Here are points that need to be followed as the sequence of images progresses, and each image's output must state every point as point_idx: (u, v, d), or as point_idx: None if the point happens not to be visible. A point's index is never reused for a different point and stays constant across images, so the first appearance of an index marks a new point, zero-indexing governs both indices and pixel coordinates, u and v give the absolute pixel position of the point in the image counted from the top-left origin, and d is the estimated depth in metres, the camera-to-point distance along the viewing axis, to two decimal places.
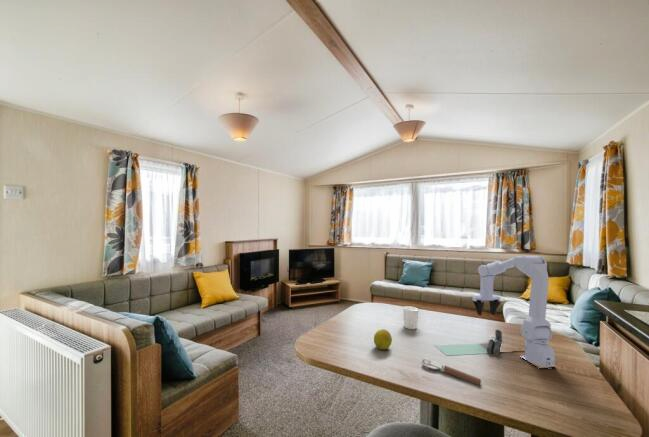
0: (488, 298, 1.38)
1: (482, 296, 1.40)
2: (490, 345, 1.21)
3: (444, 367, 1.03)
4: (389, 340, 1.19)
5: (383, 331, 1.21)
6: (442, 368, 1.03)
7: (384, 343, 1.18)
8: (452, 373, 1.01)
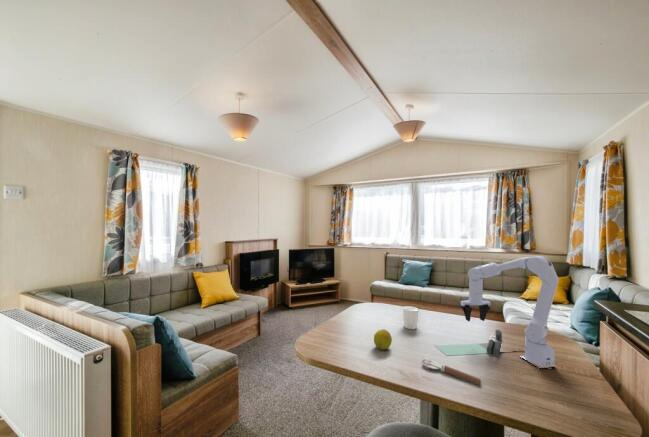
0: (477, 303, 1.28)
1: (471, 300, 1.30)
2: (490, 345, 1.21)
3: (444, 367, 1.03)
4: (389, 340, 1.19)
5: (383, 331, 1.21)
6: (442, 368, 1.03)
7: (384, 343, 1.18)
8: (452, 373, 1.01)
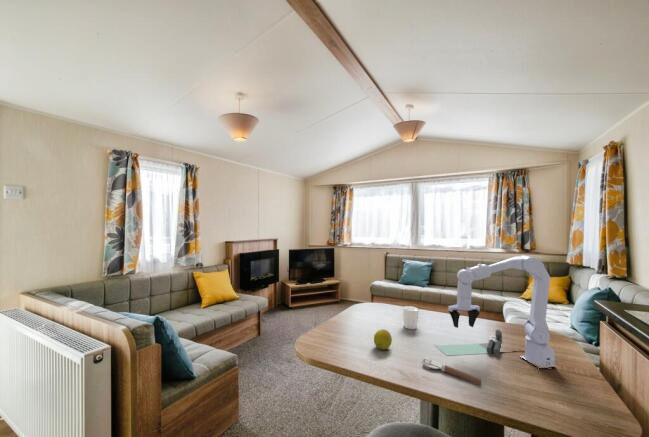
0: (465, 308, 1.20)
1: (459, 305, 1.22)
2: (490, 345, 1.21)
3: (444, 367, 1.03)
4: (389, 340, 1.19)
5: (383, 331, 1.21)
6: (442, 368, 1.03)
7: (384, 343, 1.18)
8: (452, 373, 1.01)
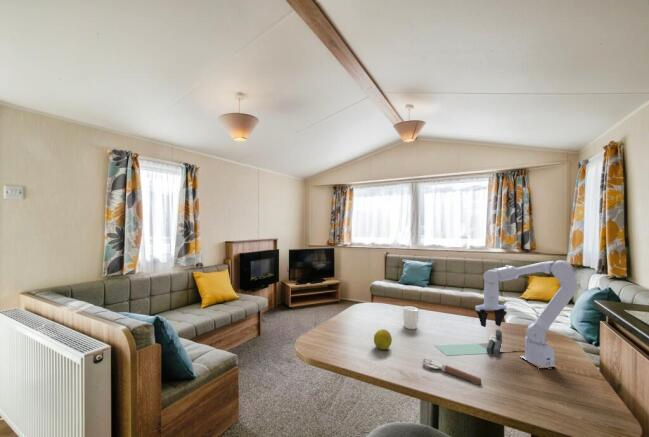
0: (493, 307, 1.22)
1: (486, 305, 1.24)
2: (490, 345, 1.21)
3: (445, 366, 1.03)
4: (389, 340, 1.19)
5: (383, 331, 1.21)
6: (443, 367, 1.04)
7: (384, 343, 1.18)
8: (453, 372, 1.01)
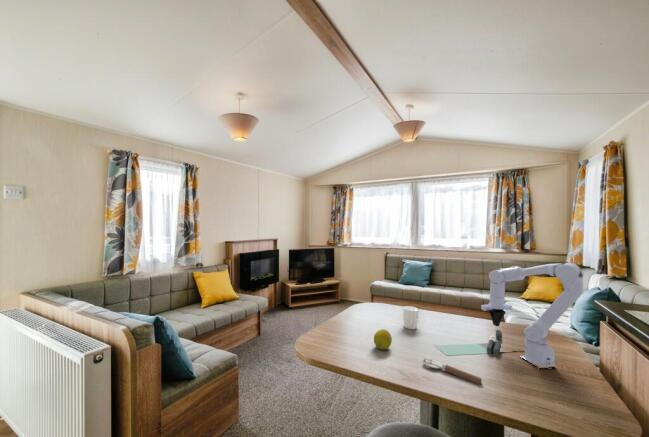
0: (499, 307, 1.22)
1: (492, 305, 1.24)
2: (490, 345, 1.21)
3: (445, 366, 1.04)
4: (389, 340, 1.19)
5: (383, 331, 1.21)
6: (443, 367, 1.04)
7: (384, 343, 1.18)
8: (453, 372, 1.02)
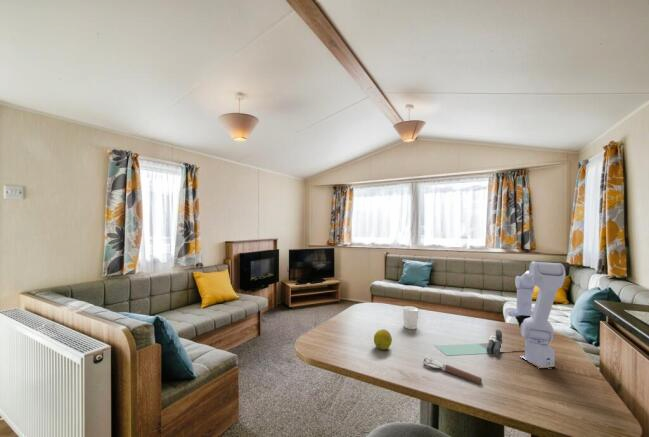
0: (526, 313, 1.25)
1: (519, 311, 1.26)
2: (490, 345, 1.21)
3: (445, 366, 1.04)
4: (389, 340, 1.19)
5: (383, 331, 1.21)
6: (443, 367, 1.04)
7: (384, 343, 1.18)
8: (453, 372, 1.02)
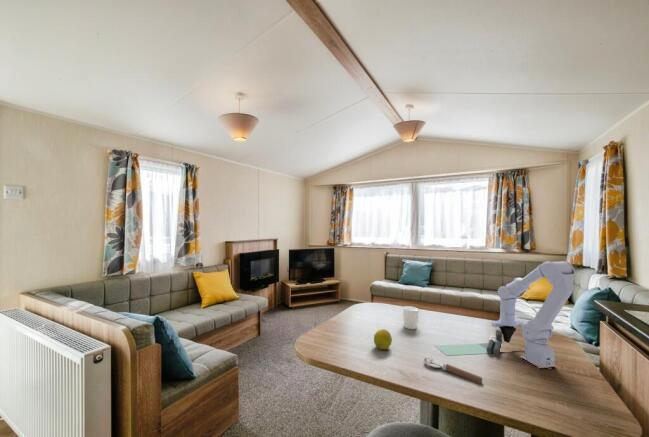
0: (509, 324, 1.23)
1: (502, 321, 1.25)
2: (490, 345, 1.21)
3: (446, 365, 1.04)
4: (389, 340, 1.19)
5: (383, 331, 1.21)
6: (444, 366, 1.04)
7: (384, 343, 1.18)
8: (454, 371, 1.02)
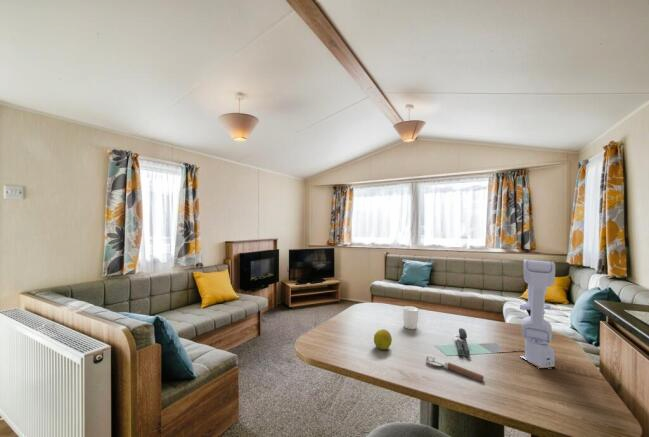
0: None
1: (531, 304, 1.26)
2: (460, 346, 1.19)
3: (447, 364, 1.05)
4: (389, 340, 1.19)
5: (383, 331, 1.21)
6: (445, 365, 1.06)
7: (384, 343, 1.18)
8: (455, 370, 1.03)
